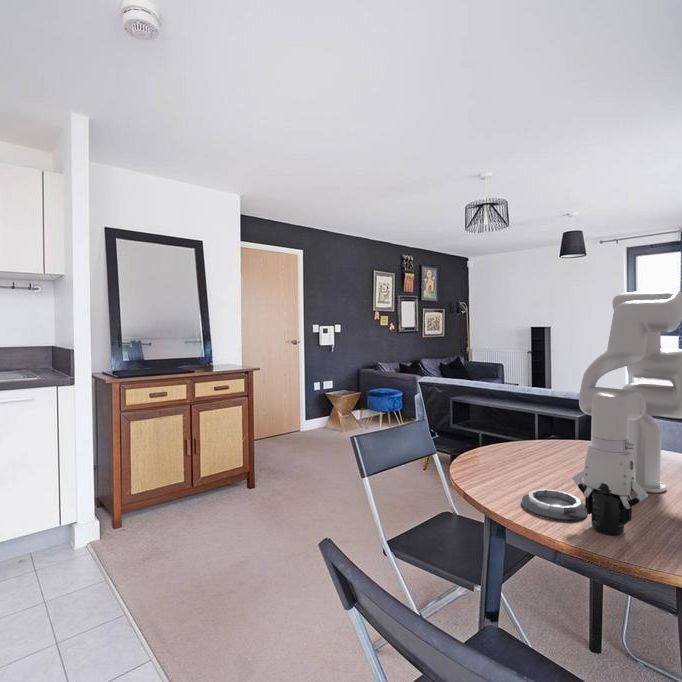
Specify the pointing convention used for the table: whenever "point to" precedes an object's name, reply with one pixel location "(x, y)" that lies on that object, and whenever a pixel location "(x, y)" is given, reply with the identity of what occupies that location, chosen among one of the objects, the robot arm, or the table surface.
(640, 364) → the robot arm
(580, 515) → the rosette plate
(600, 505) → the supplement bottle
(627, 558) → the table surface
